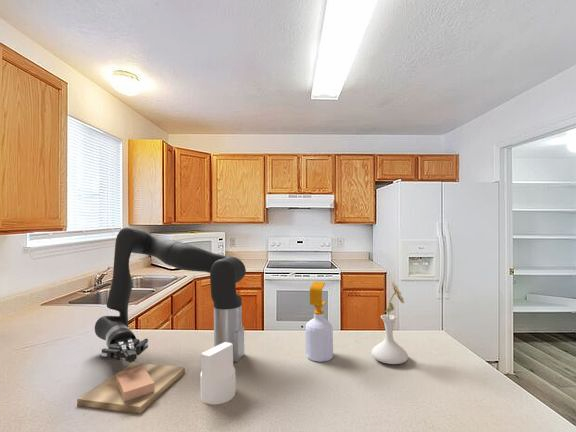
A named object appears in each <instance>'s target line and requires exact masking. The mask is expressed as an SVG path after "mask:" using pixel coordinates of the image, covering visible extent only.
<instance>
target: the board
mask: <svg viewBox="0 0 576 432" xmlns="http://www.w3.org/2000/svg"><path fill="white" fill-rule="evenodd" d="M141 366H144V368H145V369H146V371H147V372H148V374H149V375H150V377H151V378H152V380H153V381H154V393H151V394H148V395H145V396H142V397H139V398H136V399H133V400H130V401H127V402H124V400H123V398H122V395H121V393H120V391H119V388H118V386H117V384H116V373H115V374H113V375H111V376H110V377H108V378H107V379H106V380H104V381H103V382H101V383H100V384H99V383H98V385H96V386H95V387H93V388H92V389H90V390H88V391H87V392H86V393H84V394H83V395H81V396H79V397H78V398H77V399H76V400H77V401H76V405H77V406H80V407H85V408H94V409H102V410H111V411H116V412H124V413H125V412H126V413H134V414H141V413H143V411H145V410H146V409H147V408H148V407H149V406H150V405H151V404H152V403H153V402H155V401H156V399H158V398H159V397H160V396H161V395H162V394H163V393H164V392H165V391H166V390H167V389H169V388H170V387H171V386H172V385H173V384H174V383H176V382H177V380H178V379H180V378H181V377H182V376H183V375H184V374H185V373H186V367H185V366H177V365H164V364H154V363H153V364H152V363H144V362H143V363H141V362H131V363H129V364H128V365H127V366H125V367H123V369H121V370H119V371H118V372H117V373H120V372H123V371H127V370H130V369H134V368H137V367H141Z"/></svg>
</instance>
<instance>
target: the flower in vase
mask: <svg viewBox="0 0 576 432" xmlns="http://www.w3.org/2000/svg"><path fill="white" fill-rule="evenodd" d="M390 285H391V287H392V290H393V294H392V295H391V297H390V299H389V301H388V302H389V303H388V308H387V309H386V310H384V312H386V313H387V314H382V315H380V318H381V320H382V321H383V325H384V330H385V335H384V339H383V340H382V341H381V342H379V343H378V344H376V345H375V346H374V347H373V348H372V349H371V355H372V357H373V358H374V359H375V360H377V361H378V362H381V363H384V364H388V365H398V364H399V365H400V364H404V363H405V362H407V361H408V360H409V354H408V352H407V351H406V350H405V349H404V348H403V347H402V346H401V345H399V344H398V343H397V342H396V341H395V339H394V335H393V332H394V331H393V330H394V325H395V322H396V320H397V319H398V317H397V316H396V315H393V314H390V313H391V312H392V311H394V310H395V307H394V304H393V303H392V299H393V297H394V296H396V297H397V299H398V300H399V302H400V303H402V304H404V303H405V299H404V297H403V296H402V293H401V291H399V288H398V285H397V284H395V282H394V281H393V280H391V281H390Z"/></svg>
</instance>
